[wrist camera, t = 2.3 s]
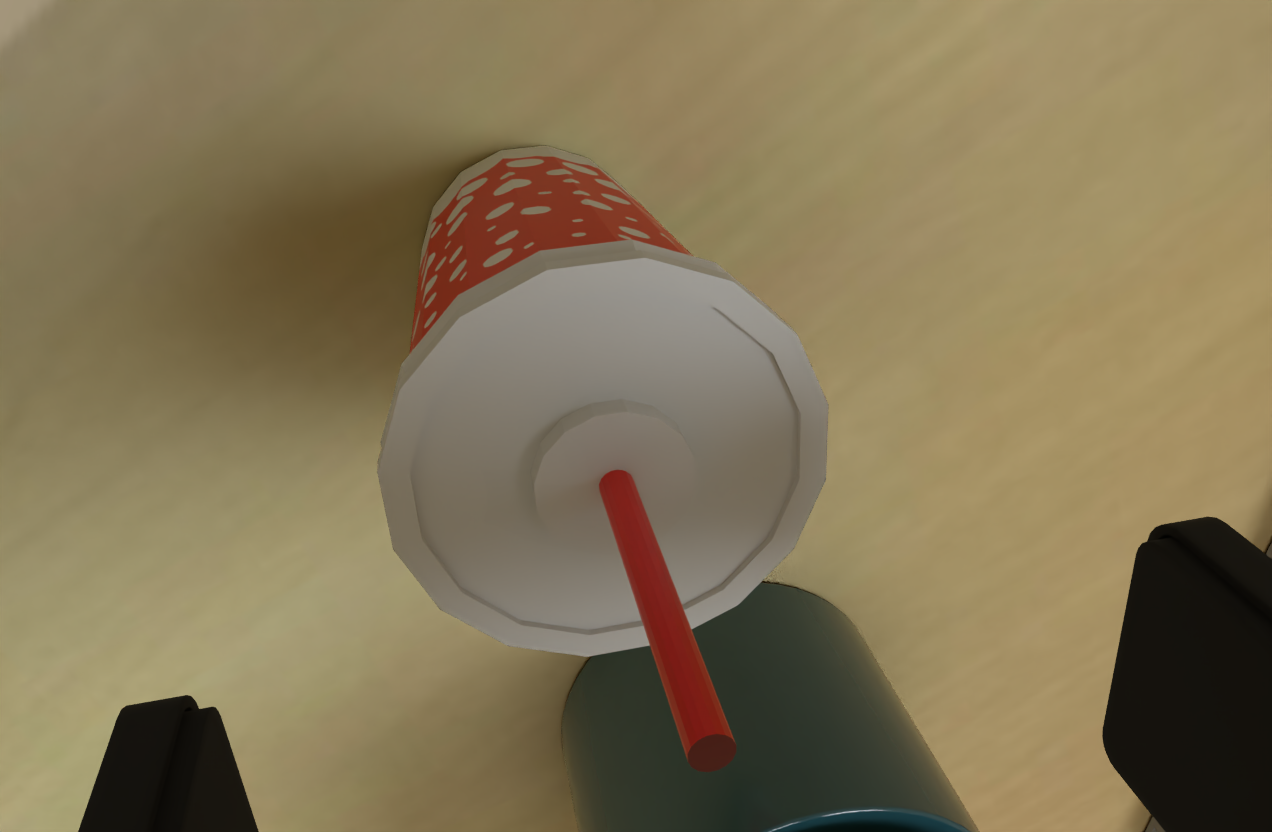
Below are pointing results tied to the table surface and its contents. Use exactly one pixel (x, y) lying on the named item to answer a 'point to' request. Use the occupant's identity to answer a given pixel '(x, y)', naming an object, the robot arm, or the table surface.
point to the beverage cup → (594, 428)
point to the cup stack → (757, 734)
